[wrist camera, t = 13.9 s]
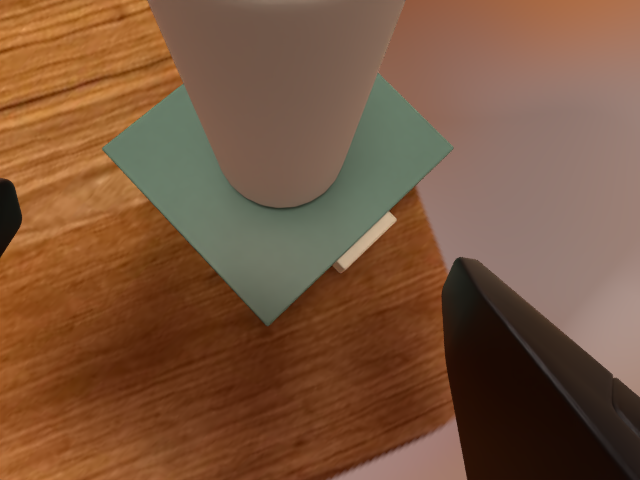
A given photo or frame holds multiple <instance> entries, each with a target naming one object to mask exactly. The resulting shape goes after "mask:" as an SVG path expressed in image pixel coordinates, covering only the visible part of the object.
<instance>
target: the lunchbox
mask: <svg viewBox="0 0 640 480" xmlns="http://www.w3.org/2000/svg"><path fill="white" fill-rule="evenodd" d="M102 150H103V151H104V152H105V153H106V154H107V155H108V156H109V157H110V158H111V160H112V161H113V162H114V163H115V164H116V165H117V166H118V167H119V168H120V169H121V170H122V171H123V172H124V174H125V175H126V176H127V177H128V178H129V179H130V180H131V181H132V182H133V183H134V184H135V185H136V186H137V187H138V189H139V190H140V191H141V192H142V193H143V194H144V195H145V196H146V197H147V198H148V199H149V200H150V201H151V203H152V204H153V205H154V206H155V207H156V208H157V209H158V210H159V211H160V212H161V213H162V214H163V215H164V216H165V218H166V219H167V220H168V221H169V222H170V223H171V224H172V225H173V226H174V227H175V228H176V229H177V230H178V232H179V233H180V234H181V235H182V236H183V237H184V238H185V239H186V240H187V241H188V242H189V243H190V244H191V246H192V247H193V248H194V249H195V250H196V251H197V252H198V253H199V254H200V255H201V256H202V257H203V258H204V259H205V261H206V262H207V263H208V264H209V265H210V266H211V267H212V268H213V269H214V270H215V271H216V272H217V273H218V275H219V276H220V277H221V278H222V279H223V280H224V281H225V282H226V283H227V284H228V285H229V286H230V287H231V288H232V290H233V291H234V292H235V293H236V294H237V295H238V296H239V297H240V298H241V299H242V300H243V301H244V302H245V304H246V305H247V306H248V307H249V308H250V309H251V310H252V311H253V312H254V313H255V314H256V315H257V316H258V317H259V319H260V320H261V321H262V322H263V323H264V324H265V325H266V326H269V325H270V324H271V323H272V322H274V321H275V320H276V319H277V318H278V317H279V316H280V315H281V314H282V313H283V312H284V311H285V310H286V309H287V308H288V307H289V306H290V305H291V304H292V303H293V302H294V301H295V300H297V299H298V298H299V297H300V296H301V295H302V294H303V293H304V292H305V291H306V290H307V289H308V288H309V287H310V286H311V285H312V284H313V283H314V282H315V281H316V280H317V279H318V278H319V277H321V276H322V275H323V274H324V273H325V272H326V271H327V270H328V269H329V268H330V267H331V266H333V267H334V268H335V269H336V270H337V271H338V272H339V273H342V272H344V271H345V270H346V269H347V268H348V267H349V266H350V265H351V264H352V263H353V262H355V261H356V260H357V259H358V258H359V257H360V256H361V255H362V254H363V253H364V252H365V251H366V250H367V249H368V248H369V247H370V246H371V245H372V244H373V243H374V242H375V241H376V240H377V239H378V238H379V237H380V236H381V235H382V234H383V233H385V232H386V231H387V230H388V229H389V228H390V227H391V226H392V225H393V224H394V223H395V222H396V218H395V217H394V216H393V215H392V214H391V213H390V212H389V210H391V209H392V208H393V207H394V206H395V205H396V204H397V203H398V202H399V201H400V200H401V199H402V198H403V197H404V196H405V195H406V194H407V193H408V192H409V191H410V190H411V189H412V188H414V187H415V186H416V185H417V184H418V183H419V182H420V181H421V180H422V179H423V178H424V177H425V176H426V175H427V174H428V173H429V172H430V171H431V170H432V169H433V168H434V167H435V166H437V164H439V163H440V162H441V161H442V160H443V159H444V158H445V157H446V156H447V155H448V154H449V153H450V152H451V151H452V150H453V146H452V145H451V144H450V143H449V142H447V140H446V139H445V138H444V137H443V136H442V135H440V133H438V132H437V131H436V130H435V129H434V128H433V127H432V126H431V125H430V124H429V123H428V122H427V121H426V120H425V119H424V118H423V117H422V116H421V115H420V114H419V113H418V112H417V111H416V110H415V109H414V108H413V107H412V106H411V105H410V104H409V103H408V102H407V101H406V100H405V99H404V98H403V97H402V96H401V95H400V94H399V93H398V92H397V91H396V90H395V89H394V88H393V87H392V86H391V85H390V84H389V83H388V82H387V81H386V80H385V79H384V78H383V77H382V76H381V75H380V74H379V73H378V74H377V76H376V79H375V82H374V84H373V87H372V90H371V92H370V95H369V97H368V100H367V103H366V105H365V108H364V111H363V113H362V116H361V118H360V121H359V124H358V126H357V129H356V132H355V134H354V137H353V139H352V142H351V145H350V147H349V150H348V153H347V155H346V158H345V160H344V163H343V166H342V168H341V170H340V172H339V174H338V176H337V178H336V180H335V181H334V182H333V184H332V185H331V186H330V187H329V188H328V189H327V190H326V192H325V193H323V194H322V195H320V196H318V197H317V198H315V199H314V200H312V201H311V202H308V203H305V204H302V205H299V206H296V207H286V208H275V207H269V206H264V205H260V204H258V203H256V202H254V201H251V200H249V199H247V198H245V197H244V196H243V195H242V194H240V193H239V192H238V191H237V190H236V189H234V188H233V187H232V186H231V184H230V183H229V181H228V180H227V178H226V177H225V176H224V174H223V173H222V170H221V168H220V166H219V163H218V161H217V159H216V157H215V154H214V152H213V150H212V147H211V145H210V143H209V141H208V138H207V136H206V134H205V131H204V129H203V127H202V125H201V122H200V120H199V118H198V115H197V113H196V111H195V108H194V106H193V104H192V102H191V99H190V97H189V95H188V92H187V90H186V88H185V86H184V83H183V84H182V85H181V86H180V87H178V88H177V89H176V90H175V91H173V92H172V93H171V94H170V95H168V96H167V97H166V98H165V99H163V100H162V101H161V102H160V103H158V104H157V105H156V106H154V107H153V108H152V109H151V110H149V111H148V112H147V113H146V114H144V115H143V116H142V117H141V118H139V119H138V120H137V121H136V122H134V123H133V124H132V125H131V126H129V127H128V128H127V129H125V130H124V131H123V132H122V133H120V134H119V135H118V136H117V137H115V138H114V139H113V140H112V141H110V142H109V143H108V144H107V145H105V146H104V147H103V148H102Z"/></svg>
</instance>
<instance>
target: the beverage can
mask: <svg viewBox="0 0 640 480" xmlns="http://www.w3.org/2000/svg"><path fill="white" fill-rule="evenodd" d="M147 1H148V3H149V5H150V8H151V10H152V12H153V15H154V17H155V19H156V21H157V24H158V26H159V28H160V31H161V33H162V35H163V37H164V40H165V42H166V44H167V47H168V49H169V51H170V53H171V56H172V58H173V60H174V63H175V65H176V67H177V70H178V72H179V74H180V76H181V79H182V81H183V83H184V86H185V88H186V90H187V92H188V95H189V97H190V99H191V102H192V104H193V106H194V108H195V111H196V113H197V115H198V118H199V120H200V122H201V125H202V127H203V129H204V131H205V134H206V136H207V138H208V141H209V143H210V145H211V147H212V150H213V152H214V154H215V157H216V159H217V161H218V163H219V166H220V168H221V170H222V173H223V174H224V176H225V177H226V178H227V180H228V181H229V183H230V184H231V186H232V187H233V188H234V189H236V190H237V191H238V192H239V193H240V194H242V195H243V196H244V197H245V198H247V199H249V200H251V201H254V202H256V203H258V204H260V205H264V206H269V207H275V208H286V207H296V206H299V205H302V204H305V203H308V202H311V201H312V200H314V199H315V198H317V197H318V196H320V195H322V194H323V193H325V192H326V190H327V189H328V188H329V187H330V186H331V185H332V184H333V182H334V181H335V180H336V178H337V176H338V174H339V172H340V170H341V168H342V166H343V163H344V160H345V158H346V155H347V153H348V150H349V147H350V145H351V142H352V139H353V137H354V134H355V132H356V129H357V126H358V124H359V121H360V118H361V116H362V113H363V111H364V108H365V105H366V103H367V100H368V97H369V95H370V92H371V90H372V87H373V84H374V82H375V79H376V76H377V74H378V71H379V68H380V66H381V63H382V60H383V58H384V55H385V53H386V50H387V47H388V45H389V42H390V40H391V37H392V34H393V31H394V29H395V26H396V24H397V21H398V18H399V16H400V13H401V10H402V8H403V5H404V3H405V0H147Z"/></svg>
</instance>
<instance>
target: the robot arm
mask: <svg viewBox="0 0 640 480" xmlns="http://www.w3.org/2000/svg"><path fill="white" fill-rule="evenodd" d="M21 222H22V214H21V210H20V206H19V202H18V198H17V194H16V190H15V187H14V185H13V183H12V182H11V181H9V180H8V179H3V178H0V257H1V256H2V254H3V253H4V251H5V250H6V248H7V246H8V245H9V243H10V242H11V240H12V239H13V237H14V236H15V234H16V232H17V231H18V229H19V228H20V225H21ZM442 314H443V331H444V347H445V359H446V366H447V373H448V378H449V383H450V389H451V394H452V400H453V405H454V410H455V416H456V421H457V426H458V432H459V437H460V443H461V448H462V454H463V459H464V464H465V470H466V475H467V480H640V397H639V396H638V395H636V394H635V393H634V392H633V391H632V390H630V389H629V388H628V387H627V386H626V385H624V384H623V383H622V382H621V381H620V380H619V379H617V378H613V375H612V374H611V373H610V372H609V371H608V370H607V369H606V368H604V367H603V366H602V365H601V364H600V363H598V362H597V361H596V360H595V359H594V358H593V357H591V356H590V355H589V354H588V353H587V352H586V351H584V350H583V349H582V348H581V347H580V346H578V345H577V344H576V343H575V342H574V341H573V340H571V339H570V338H569V337H568V336H567V335H565V334H564V333H563V332H562V331H560V329H558V328H557V327H556V326H555V325H554V324H552V323H551V322H550V321H549V320H548V319H547V318H545V317H544V316H543V315H542V314H541V313H540V312H538V311H537V310H536V309H535V308H534V307H532V306H531V305H530V304H529V303H528V302H526V301H525V300H524V299H523V298H522V297H521V296H519V295H518V294H517V293H516V292H515V291H514V290H512V289H511V288H510V287H509V286H508V285H506V284H505V283H504V282H503V281H502V280H500V279H499V278H498V277H497V276H496V275H495V274H493V273H492V272H491V271H490V270H489V269H488V268H486V267H485V266H484V265H483V264H482V263H480V262H479V261H478V260H475V259H469V258H463V257H459V258H457V259H456V260H455V261H454V263H453V266H452V268H451V270H450V272H449V275H448V277H447V279H446V282H445V284H444V286H443V290H442Z"/></svg>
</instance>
